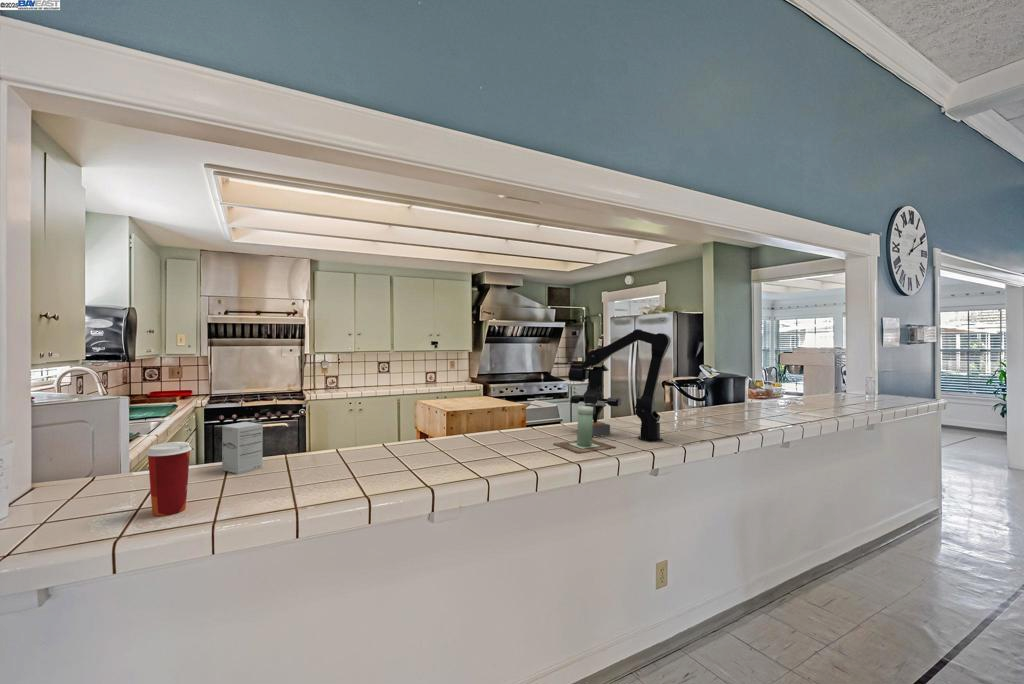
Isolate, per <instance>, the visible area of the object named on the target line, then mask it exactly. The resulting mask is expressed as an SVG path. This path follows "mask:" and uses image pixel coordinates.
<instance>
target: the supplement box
mask: <svg viewBox="0 0 1024 684" xmlns="http://www.w3.org/2000/svg"><path fill="white" fill-rule="evenodd" d="M263 427H264V425H263V423H258V422H257V423H256V422H251V421H250V422H249V421H241V422H236V423H230V424H224V425H222V437H221V438H222V439H221V440H222V443H221V444H222V445H221V448H222V449H221V455H222V457H221V458H222V459H221V460H222V461H221V462H222V463H221V470H222V471H226V472H229V473H233V474H237V475H240V474H244V473H247V472H251V471H255V470H259V468H260V469H262V468H263V433H264V432H263V431H264V429H263Z"/></svg>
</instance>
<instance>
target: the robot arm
mask: <svg viewBox="0 0 1024 684" xmlns="http://www.w3.org/2000/svg"><path fill="white" fill-rule="evenodd" d="M638 341H641V342H644V343H648V344H650V345H651V358H650V363H649V367H648V372H647V376H646V379H645V380H646V381H645V385H644V389H643V393H642V395H641V396H640V395H638V396H637V397H636V399H635V406H634V407H633V409H635V415H636V416H637V417H638V418H639V420H640V422H641V424H640V436H638V437H637V439H639V440H642V441H645V440H646V441H645V442H649V441H654V442H658V441H657V440H661V441H664V439H663V438H661V436H660V435H661V433H660V432H661V431H660V430H661V422H660V420H661V415H660V414H659V413H657V411H656V409H655V407H656V406H655V405H656V402H655V401H656V399H655V398H656V397H655V394H656V390H657V385H658V382H659V381H658V380H659V377H660V373H661V368H662V363H663V360H664V358H665V356H666V354H667V352H668V349H669V348H670V345H671V342H672V341H671V337H670V336H669V335H668V334H666V333H662V332H661V333H659V332H658V333H653V332H650V331H649V332H648V331H646V330H643V329H639V328H637V329H634V330H633V331H631V332H630V333H628V334H626V335H624V336H622V337H621V338H618V339H617V340H615V341H613V342H611V343H610V344H608V345H606V346H602V347H599V348H596V349H593V350H589V352H587V355H586V359H585V360H584V362H583V363H582V364H577V363H576V364H575V363H573V364H570V366H569V369H568V370H569V371H568V380H569V382H580V383H581V382H582V383H583V382H584V383H585V381H586V380H587V382H588V383H587V386H586V390H585V392H584V393H583V394H574V395H571V397H570V400H569V401H570V404H579V403H581V402H582V403H584V406H591V407H593V421H594V423H596V422H597V421H598V420H599V418H600V414H601V412H602V410H603V408H605V407H607V405H608V406H609V407H619V406H621V405H622V400H621V399H622V398H621V397H619V396H618V397H617V396H610V397H608V398H604V397H605V396H604V372H609V368H608V367H607V366H606V365H605V364H603V363H604V362H606V361H607V360H608V359H609V358H611V357H612V356H613V355H614V354H616V353H617V352H620V351H621V350H623V349H625V348H627V347H628V346H631V345H633V344H634V343H636V342H638ZM602 364H603V365H602ZM598 365H601V366H598ZM591 367H592V368H591Z"/></svg>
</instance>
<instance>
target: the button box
mask: <svg viewBox="0 0 1024 684" xmlns="http://www.w3.org/2000/svg"><path fill="white" fill-rule="evenodd" d="M601 435H607V436H611V424H609V423H605V425H597V426H593V425H592V436H599V437H602V436H601Z"/></svg>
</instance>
